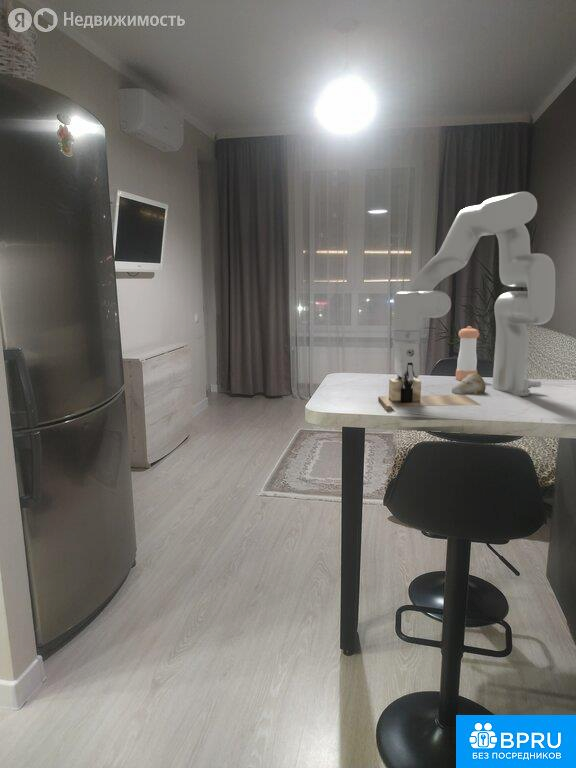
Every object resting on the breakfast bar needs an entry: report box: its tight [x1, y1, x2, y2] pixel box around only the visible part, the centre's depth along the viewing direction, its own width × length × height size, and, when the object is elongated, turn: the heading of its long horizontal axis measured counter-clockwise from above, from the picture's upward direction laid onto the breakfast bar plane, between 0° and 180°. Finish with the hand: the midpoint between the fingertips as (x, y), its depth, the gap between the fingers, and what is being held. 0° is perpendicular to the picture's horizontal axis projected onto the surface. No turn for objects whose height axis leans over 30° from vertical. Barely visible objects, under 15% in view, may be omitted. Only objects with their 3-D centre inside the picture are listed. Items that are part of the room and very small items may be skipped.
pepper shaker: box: [455, 325, 480, 382], centre depth 183 cm, size 7×7×19 cm
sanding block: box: [388, 377, 422, 403], centre depth 146 cm, size 8×4×6 cm, turn 91°
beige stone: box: [451, 373, 486, 395], centre depth 158 cm, size 8×10×10 cm
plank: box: [377, 394, 481, 412], centre depth 147 cm, size 26×12×2 cm, turn 91°
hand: (404, 399), depth 147 cm, fingers closed on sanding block, 4 cm apart
